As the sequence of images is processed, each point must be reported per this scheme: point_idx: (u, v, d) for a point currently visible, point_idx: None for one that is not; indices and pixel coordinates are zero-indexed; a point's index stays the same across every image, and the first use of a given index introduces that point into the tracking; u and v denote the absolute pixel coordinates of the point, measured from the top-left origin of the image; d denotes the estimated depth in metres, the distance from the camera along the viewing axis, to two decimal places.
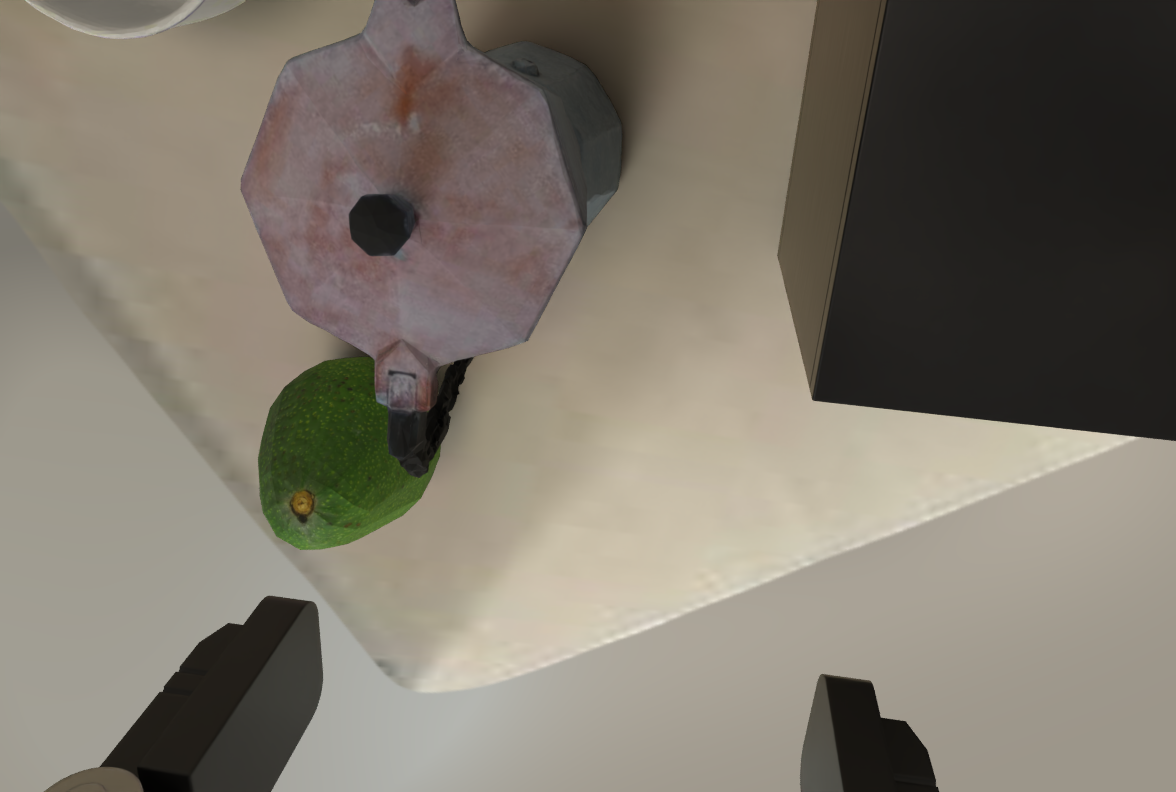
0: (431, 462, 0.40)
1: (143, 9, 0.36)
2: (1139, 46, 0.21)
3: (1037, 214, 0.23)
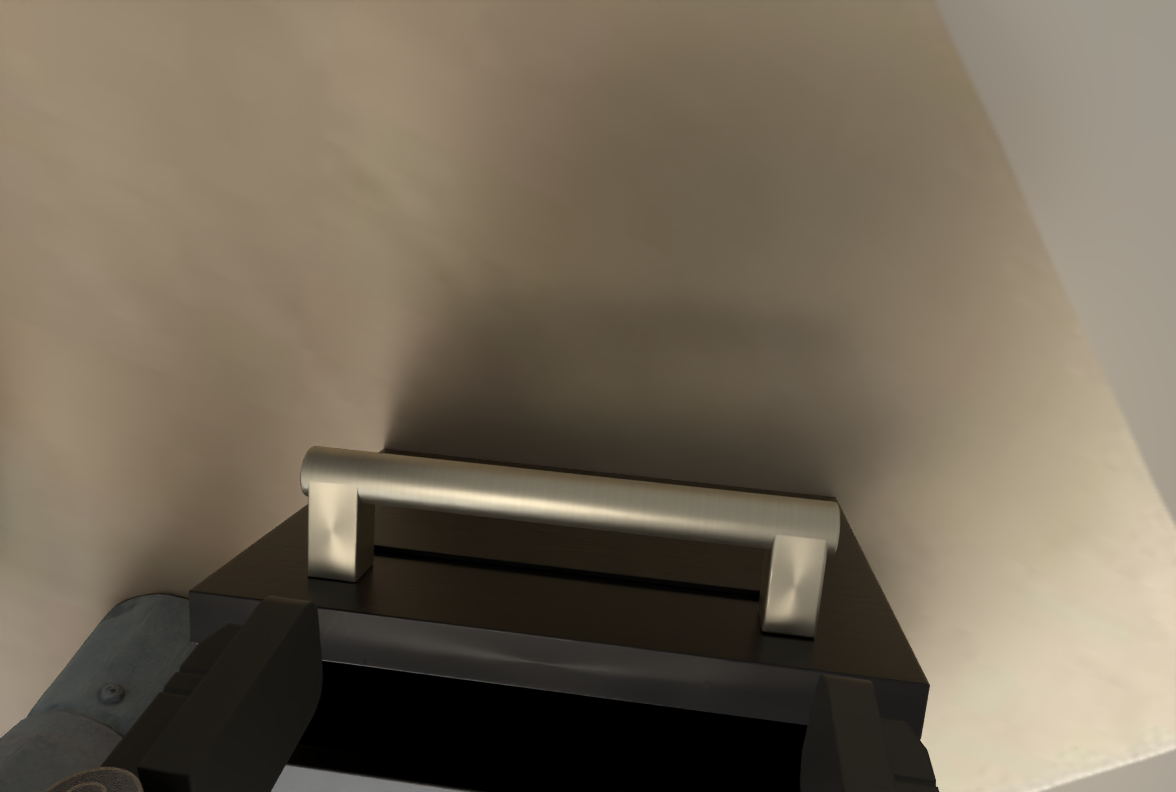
0: None
1: None
2: None
3: None
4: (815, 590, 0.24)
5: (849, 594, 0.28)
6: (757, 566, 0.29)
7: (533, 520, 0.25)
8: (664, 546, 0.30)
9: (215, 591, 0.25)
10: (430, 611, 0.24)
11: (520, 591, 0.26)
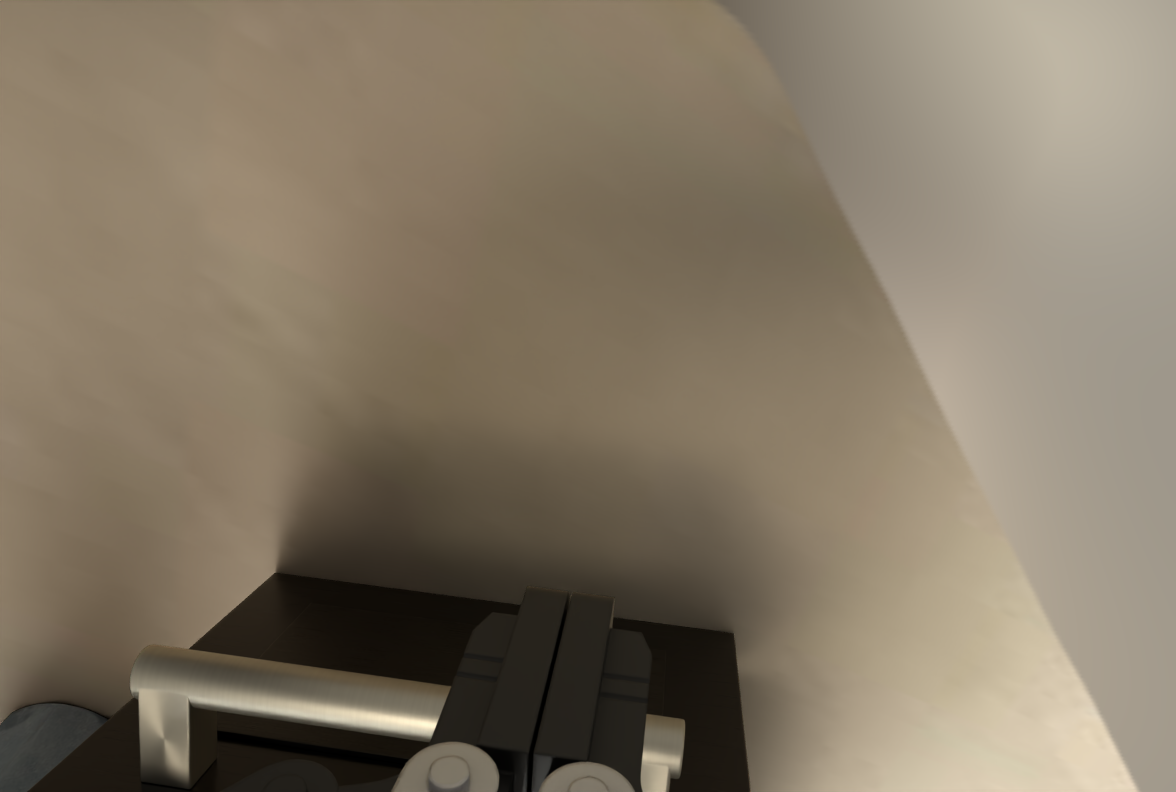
0: None
1: None
2: None
3: None
4: None
5: (712, 787, 0.27)
6: None
7: (371, 733, 0.24)
8: None
9: None
10: None
11: None
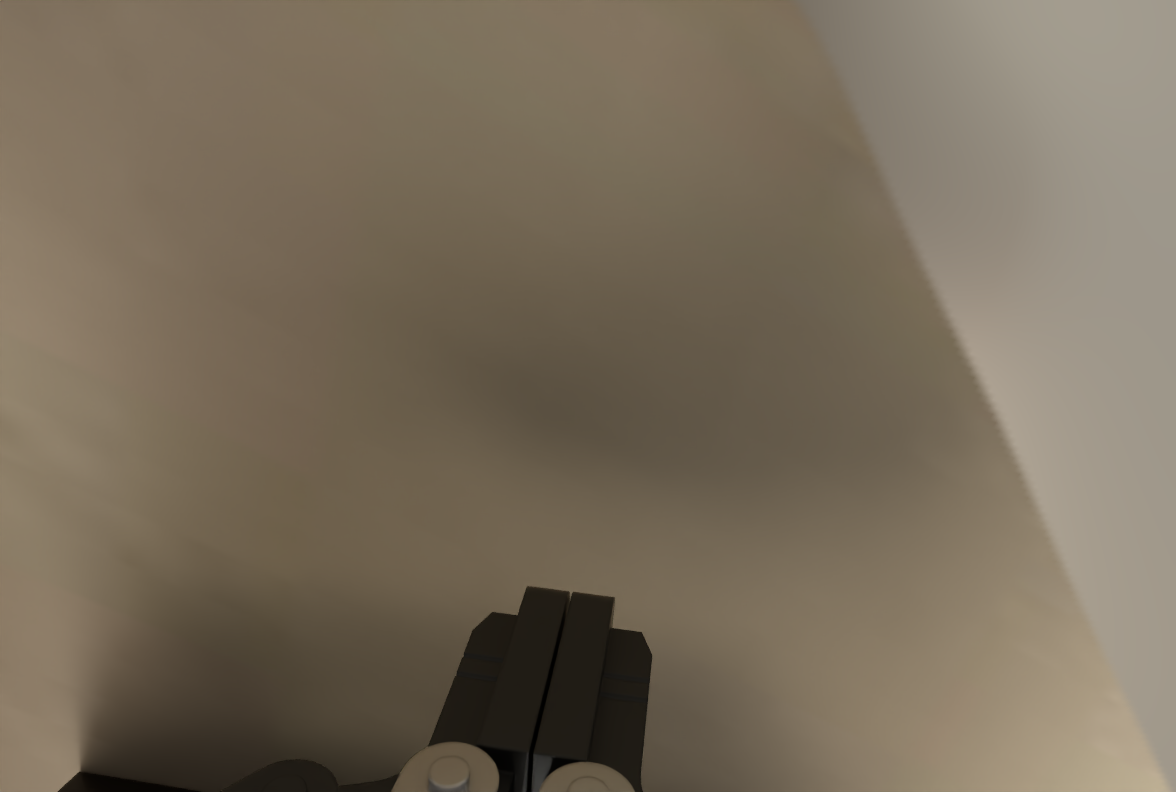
0: None
1: None
2: None
3: None
4: None
5: None
6: None
7: None
8: None
9: None
10: None
11: None
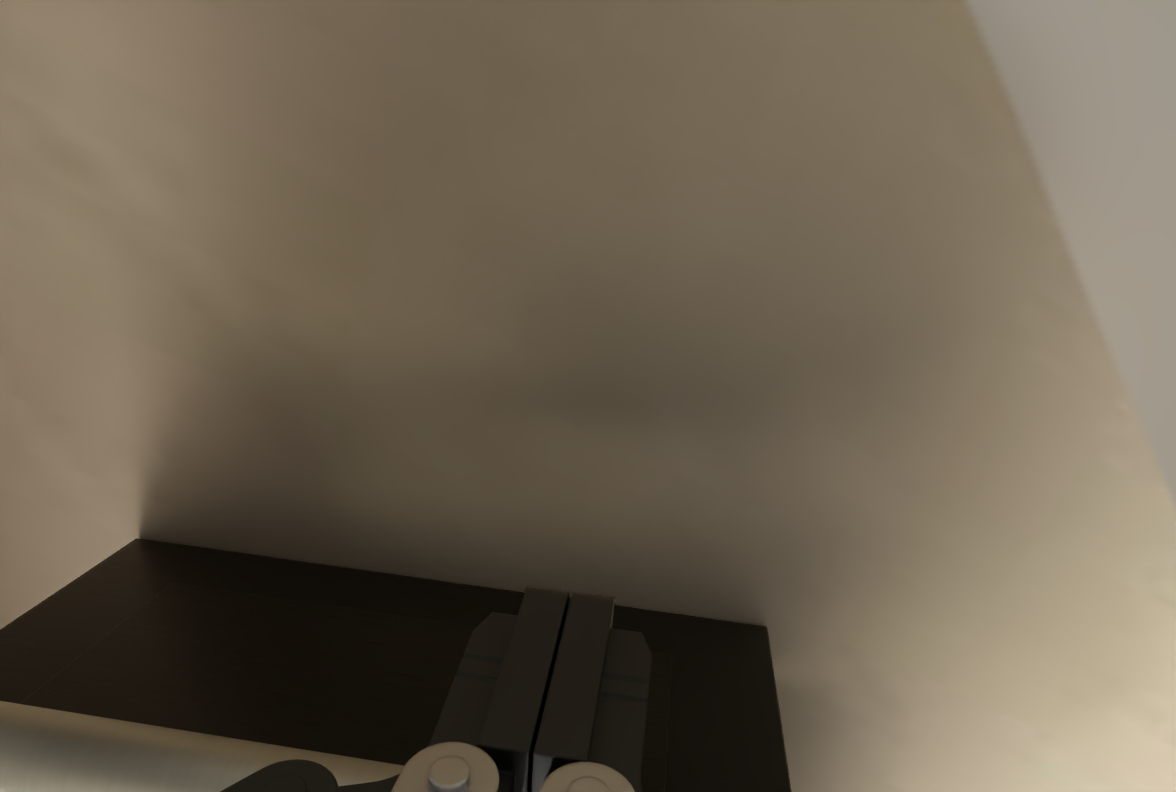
0: None
1: None
2: None
3: None
4: None
5: None
6: None
7: None
8: None
9: None
10: None
11: None
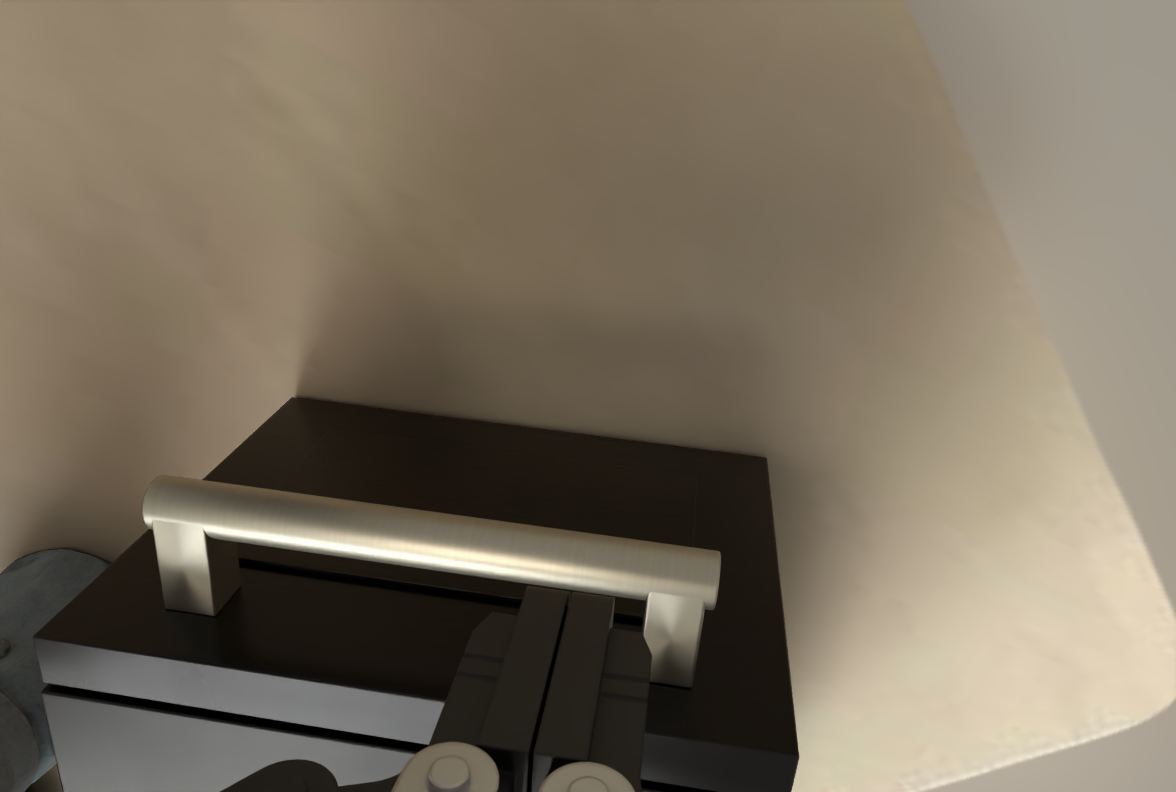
0: None
1: None
2: None
3: None
4: (691, 645, 0.23)
5: (745, 614, 0.26)
6: None
7: (394, 564, 0.23)
8: None
9: (61, 636, 0.23)
10: (286, 659, 0.23)
11: (390, 624, 0.25)
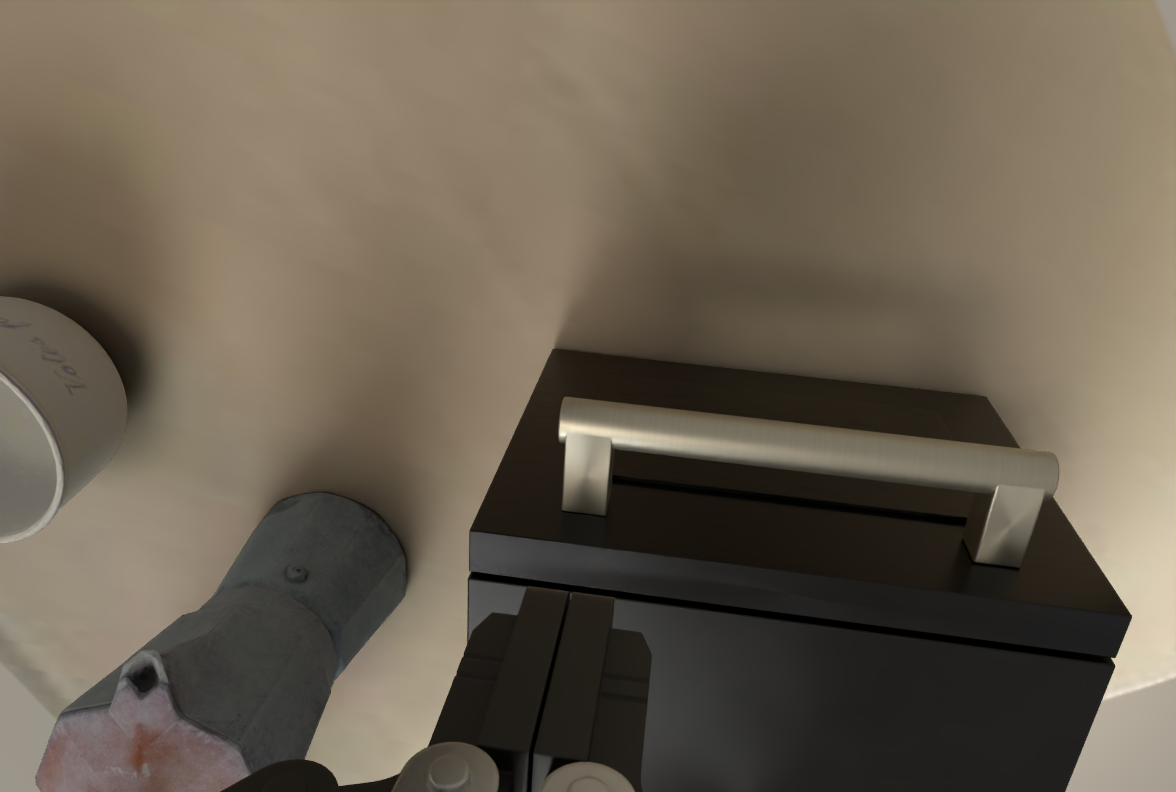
0: None
1: (12, 483, 0.45)
2: None
3: None
4: (1028, 530, 0.27)
5: None
6: None
7: (772, 467, 0.28)
8: None
9: (492, 530, 0.28)
10: (683, 547, 0.28)
11: (749, 522, 0.29)
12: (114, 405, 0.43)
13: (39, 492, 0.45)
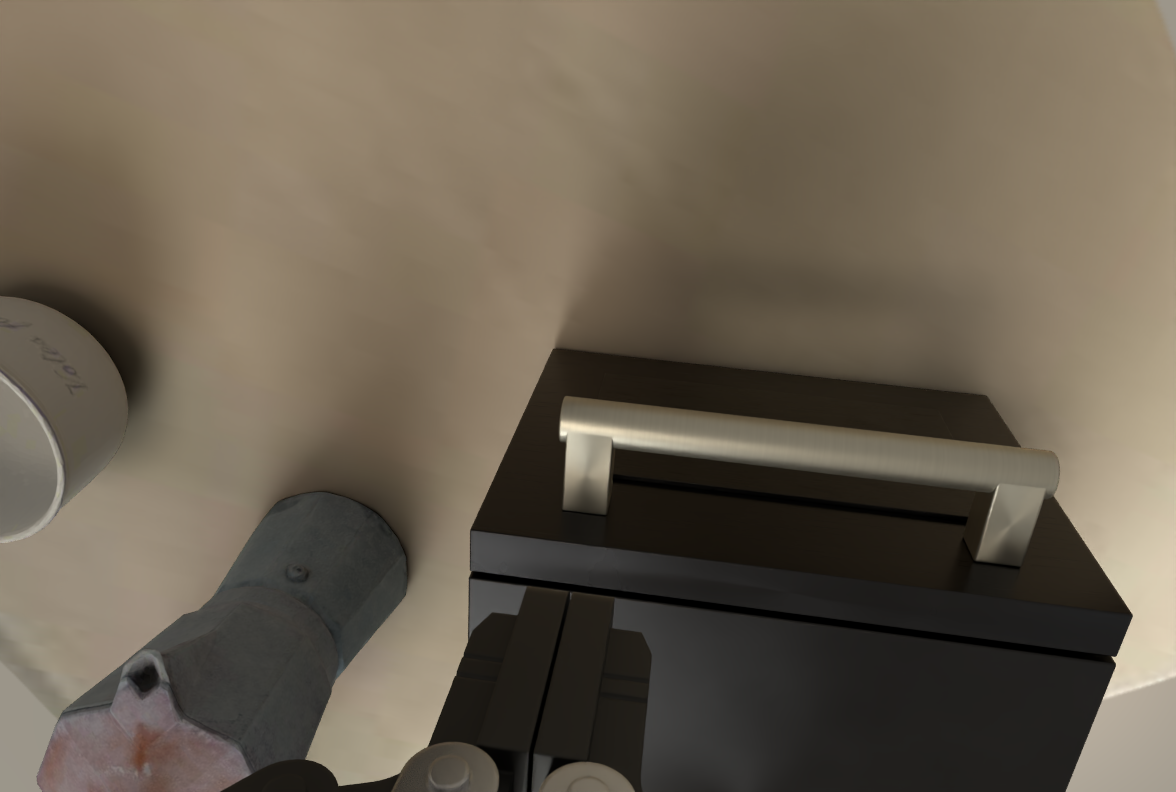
0: None
1: (13, 483, 0.45)
2: None
3: None
4: (1028, 529, 0.27)
5: None
6: None
7: (772, 466, 0.28)
8: None
9: (493, 529, 0.28)
10: (684, 546, 0.28)
11: (750, 521, 0.29)
12: (115, 405, 0.43)
13: (40, 492, 0.45)
